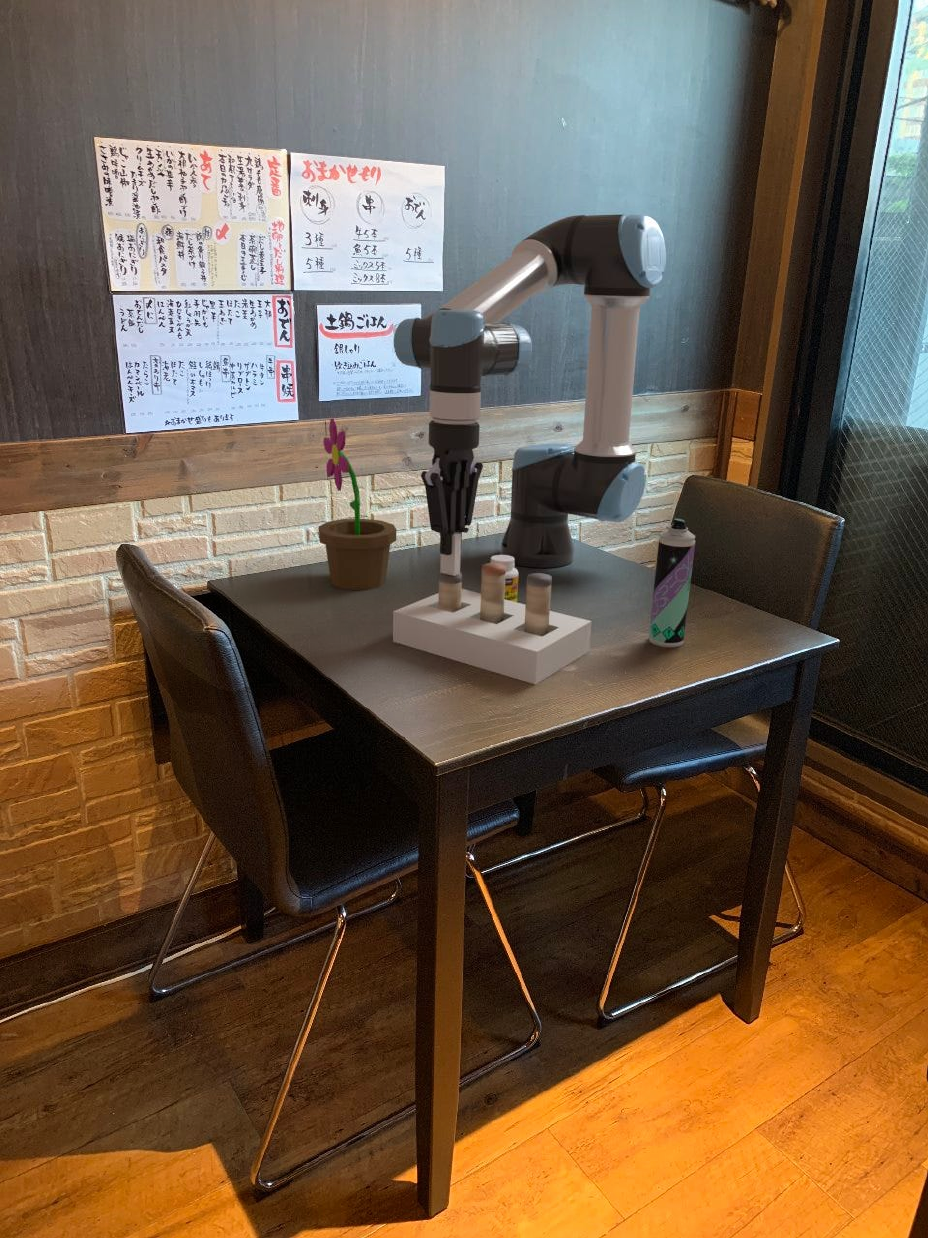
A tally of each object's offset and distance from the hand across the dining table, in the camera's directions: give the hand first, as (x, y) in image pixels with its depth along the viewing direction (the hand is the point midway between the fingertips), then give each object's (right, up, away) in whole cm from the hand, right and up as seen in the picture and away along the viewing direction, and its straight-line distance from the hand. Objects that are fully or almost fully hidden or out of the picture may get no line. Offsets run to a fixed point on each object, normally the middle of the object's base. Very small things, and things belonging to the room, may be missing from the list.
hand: (450, 572), depth 145 cm
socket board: (+6, -11, -1) cm, 13 cm away
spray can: (+34, -11, +4) cm, 36 cm away
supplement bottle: (+8, -7, +13) cm, 17 cm away
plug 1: (0, -9, +3) cm, 9 cm away
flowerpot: (-18, 0, +28) cm, 33 cm away
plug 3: (+13, -9, -6) cm, 17 cm away
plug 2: (+6, -8, -2) cm, 10 cm away
